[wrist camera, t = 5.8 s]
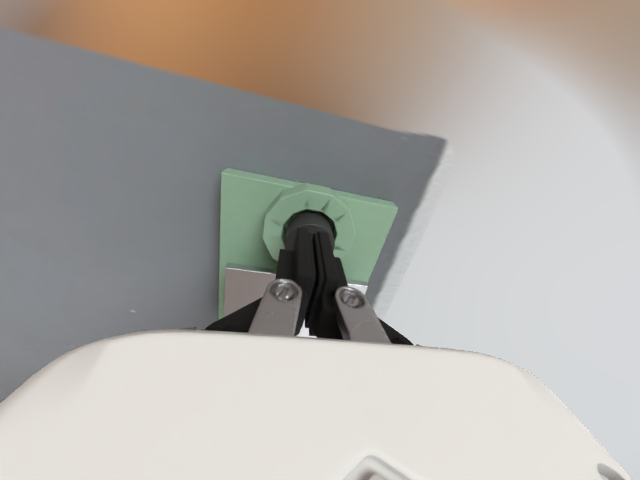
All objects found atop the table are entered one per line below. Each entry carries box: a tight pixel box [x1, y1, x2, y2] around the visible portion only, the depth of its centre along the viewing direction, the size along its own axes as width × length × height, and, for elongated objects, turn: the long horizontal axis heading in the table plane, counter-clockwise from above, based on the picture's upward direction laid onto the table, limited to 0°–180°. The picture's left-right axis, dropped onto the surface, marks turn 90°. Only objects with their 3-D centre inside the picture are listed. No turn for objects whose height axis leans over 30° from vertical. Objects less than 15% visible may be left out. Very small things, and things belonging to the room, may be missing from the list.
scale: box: [218, 168, 398, 320], centre depth 18 cm, size 14×12×3 cm
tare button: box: [285, 213, 335, 251], centre depth 14 cm, size 3×3×2 cm
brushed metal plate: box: [224, 263, 368, 338], centre depth 18 cm, size 8×10×1 cm
